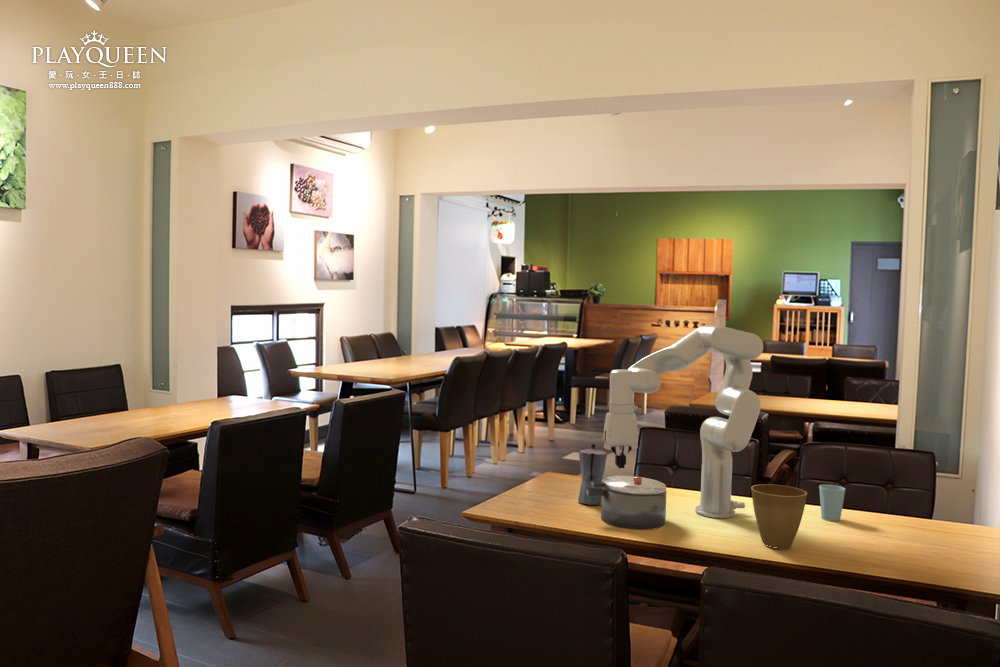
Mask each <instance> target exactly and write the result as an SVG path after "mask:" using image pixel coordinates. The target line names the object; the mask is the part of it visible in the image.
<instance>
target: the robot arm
mask: <svg viewBox="0 0 1000 667" xmlns="http://www.w3.org/2000/svg"><path fill="white" fill-rule="evenodd" d="M763 351H764V342H763V341H762V339H761V337H760V336H759V335H757V334H755V333H752V332H747V331H743V330H739V329H736V328H732V327H727V326H723V325H714V324H713V325H710V324H706V325H705V324H704V325H701V326H699V327H697V328H695V329H694V330H692V331H691V332H689V333H687V334H686V335H684V337H682V338H680V339H678V340H677V341H675V343H673V344H671V345H669V346H668V347H665V348H662V349H661V350H658V351H656V352H653V353H651V354H649V355H647V356H645V357H643V358H641V359H640V360H638V361H637V362H635V363H634V364H633V365H631V366H630V367H628V369H625V368H624V369H618V368H617V369H612V370H611V371H610V374H609V401H608V402H609V405H608V406H609V407H608V409H609V410H608V411H609V412H606V414H605V419H604V426H603V442H604V444H603V448H604V449H606V450H610V451H612V452H613V453H614V457H615V459H614V461H615V462H614V464H615V466H616V467H617V469H625V466H626V465H627V455H628V454H629V453H630V452H631V451H632V450H637V449H639V445H638V443H639V428H638V421H637V415H636V413H635V411H638V409H639V406H638V405H636V404H635V401H634V400H635V393H640V394H653V393H655V392H657V391H658V390H659V389H660V388H661V385H662V379H661V376H660V375H662V374H665V373H670V372H676V371H680V370H684V369H686V368H688V367H690V366H692V364H694V363H696V362H697V361H698V360H699V359H702V358H703V357H704V356H706V355H708V354H709V353H710V352H712V353H720V354H722V356H723V360H724V362H725V373H724V375H723V379H722V382H721V384H720V386H719V390H718V392H717V395H716V398H715V402H714V403H715V408H716V410H717V411H718V412H719V413H721V414H723V415H726V416H729V417H728V418H724V417H721V416H711V417H708V418H706V419H705V420H704V421H703V422H702V424H701V427H700V429H699V431H700V433H699V435H700V436H699V437H700V443H701V444H700V445H701V453H702V454H701V474H700V475H701V477H700V502H699V503H700V504H699V505H697V506H695V508H694V509H695V510H694V511H695V512H696V514H698V515H701V516H704V517H707V518H714V519H730V518H733V517H735V516H736V511H735V510H736V509H745V508H746V504H745V502H742V501H741V502H738V501H736V500H732V476H733V455H732V453H735V452H736V453H737V452H741V451H742V450H744V449H745V448H746V447H747V446H748V444H749V442H750V440H751V437H752V434H753V432H754V431H755V430H754V429H755V427H756V425H757V424H756V423H757V421H758V418H759V415H760V413H761V400H760V398H759V396H758V394H757V393H756V392H754V391H752V390H750V385H751V382H752V379H753V374H754V373H753V372H754V371H753V366H752V363H751V360H752V361H753V360H756V359H758V358H759V357H760V356H761V355H762V353H763ZM620 447H621V448H620Z"/></svg>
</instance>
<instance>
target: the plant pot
mask: <svg viewBox="0 0 1000 667" xmlns="http://www.w3.org/2000/svg"><path fill="white" fill-rule="evenodd" d="M750 489H751V490H750V491H751V497H752V498H751V499H752V505H753V506H752V507H753V511H754V516H755V517H754V518H755V520H756V521H755V522H756V525H757V528H758V532H759V535H760V538H761V541H762V543H764V544H765V545H768V546H771V547H777V548H788V549H790V548H791V547H792V545H793V544H794V541H795V538H796V536H797V533H798V532H799V527H800V525H801V522H802V518H803V515H804V512H805V511H804V510H805V506H806V502H807V496H808V492H807V491H806V490H804V489H802V488H798V487H793V486H788V485H782V484H773V483H771V484H769V483H766V484H763V483H761V484H754V485H752V486H751V487H750ZM764 544H763V545H764ZM765 545H764V546H765ZM768 546H767V547H768ZM771 547H770V548H771ZM789 547H790V548H789Z"/></svg>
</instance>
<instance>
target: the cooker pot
mask: <svg viewBox="0 0 1000 667" xmlns="http://www.w3.org/2000/svg"><path fill="white" fill-rule="evenodd" d="M667 492H668V491H667V490H666V492H665V493H663V494H659V495H633V494H626V493H620V492H616V491H613V490H610V489H607V488H605V487H602V488H586V494H587V495H588V496H602V499H601V504H600V507H601V508H600V519H601V521H602V522H603V523H605V524H607V525H610V526H613V527H616V528H619V529H627V530H640V531H641V530H642V531H643V530H645V531H646V530H655V528H656V529H659V528H662V527H664V526H665V525H666V516H667V515H666V514H667Z"/></svg>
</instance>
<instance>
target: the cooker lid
mask: <svg viewBox="0 0 1000 667" xmlns="http://www.w3.org/2000/svg"><path fill="white" fill-rule="evenodd" d="M591 485H592V486H593V487H605V488H607V489H610V490H613V491H616V492H620V493H626V494H633V495H659V494H663V493H665V492H666V491H667V485H666V484H665V483H663V482H661V481H659V480H657V479H653V478H649V477H648V478H647V477H642V476H633V475H611V476H607V477H604V478H602V481H591Z"/></svg>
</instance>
